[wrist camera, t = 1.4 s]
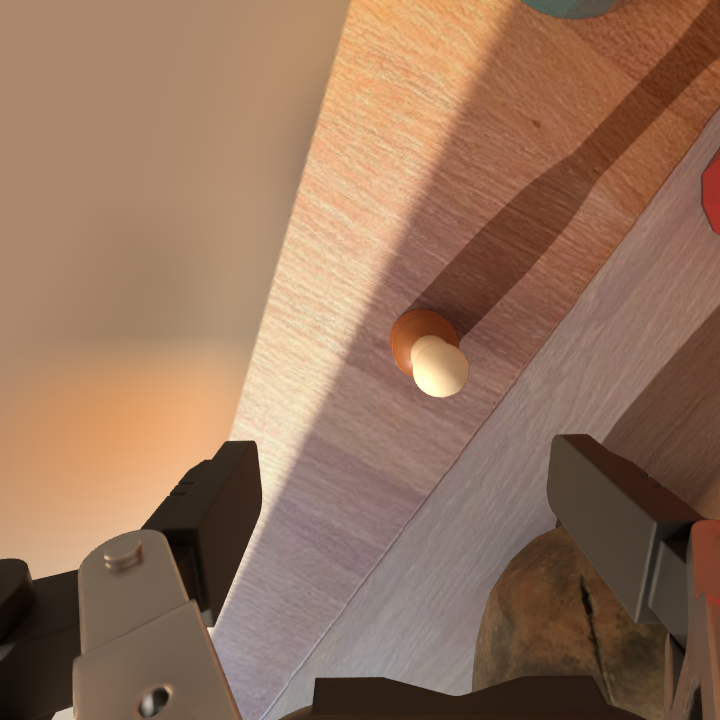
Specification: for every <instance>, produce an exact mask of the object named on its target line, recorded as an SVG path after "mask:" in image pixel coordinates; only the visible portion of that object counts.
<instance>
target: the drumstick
mask: <svg viewBox="0 0 720 720" xmlns="http://www.w3.org/2000/svg"><path fill="white" fill-rule="evenodd" d="M390 347H391V351H392V354H393V358H394V360H395V362H396V364H397V366H398V367H399V368H400V369H401V370H402V371H403V372H404V373H405V374H407V375H409V376H411V377H414V379H415V381H416V383H417V385H418V386H419V388H420V389H421V390H423V391H424V392H425V393H427V394H429V395H431V396H435V397H447V396H450V395H453V394H455V393H456V392H458V391H459V390H460V389H461V388H462V387H463V386H464V384H465V382H466V380H467V377H468V371H469V370H468V363H467V360H466V358H465V356H464V355H463V353H462V352H461V351H460V350H459V339H458V335H457V333H456V331H455V329H454V328H453V326H452V325H451V324H450V323H449V322H448V321H447V320H446V319H444V318H443V317H442V316H441V315H439V314H438V313H436V312H434V311H431V310H427V309H416V310H412V311H409V312H407V313H405V314H404V315H402V316H401V317H400V318H399V319H398V320H397V321H396V322H395V324H394V326H393V328H392V330H391V333H390Z"/></svg>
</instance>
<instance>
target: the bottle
mask: <svg viewBox="0 0 720 720" xmlns="http://www.w3.org/2000/svg"><path fill="white" fill-rule="evenodd" d="M701 205H702V207H703V209H704V212H705V214H706V216H707V219H708V221H709V223H710V226H711V228H712V230H713V231H714V232H716V233H717V234H718V235H720V147H719V148H718V150H717V152H716V153H715V155H714V156H713V158H712V159H711V161H710V163H709V164H708V166H707V167H706V169H705V170H704V172H703V173H702V175H701Z"/></svg>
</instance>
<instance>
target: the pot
mask: <svg viewBox="0 0 720 720" xmlns="http://www.w3.org/2000/svg"><path fill="white" fill-rule="evenodd" d="M705 519H706V518H705ZM706 520H709V519H706ZM667 634H668V629H667V628H666V627H665V625H664V624H635V622H634V621H633V620H632V618H631V617H630V616H629V614H628V613H627V611H626V610H625V609H624V607H623V606H622V605H621V603H620V602H619V601H618V599H617V598H616V597H615V595H614V594H613V592H612V591H611V590H610V588H609V587H608V586H607V584H606V583H605V582H604V580H603V579H602V578H601V576H600V575H599V573H598V572H597V571H596V569H595V568H594V567H593V565H592V564H591V563H590V561H589V560H588V558H587V557H586V556H585V554H584V553H583V552H582V550H581V549H580V548H579V546H578V545H577V544H576V542H575V541H574V539H573V538H572V537H571V535H570V534H569V533H568V531H567V530H566V529H565V527H564V526H563V525H562V526H560V527H558V528H555V529H553V530H551V531H549V532H547V533H545V534H543V535H540V536H538V537H536V538H535V539H534V540H532V541H531V542H530V543H529V544H528V545H527V546H526V547H525V548H524V549H522V550H521V551H520V552H519V553H518V554H517V555H516V556H515V557H514V558H513V559H512V560H511V561H510V563H509V564H508V566H507V567H506V569H505V570H504V572H503V573H502V575H501V576H500V578H499V579H498V581H497V583H496V584H495V586H494V587H493V589H492V590H491V592H490V595H489V598H488V602H487V605H486V608H485V611H484V614H483V617H482V621H481V625H480V629H479V633H478V637H477V641H476V650H475V658H474V666H473V678H472V692H475V691H478V690H481V689H485V688H488V687H491V686H494V685H497V684H500V683H503V682H506V681H509V680H512V679H516V678H519V677H522V676H568V675H592V676H593V678H594V680H595V681H596V683H597V685H598V687H599V689H600V691H601V692H602V694H603V696H604V698H605V700H606V702H607V704H609V705H613V706H616V707H618V708H621V709H624V710H627V711H629V712H632V713H635V714H637V715H639V716H641V717H643V718H645V719H647V720H663V719H664V674H665V644H666V639H667Z"/></svg>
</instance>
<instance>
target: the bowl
mask: <svg viewBox="0 0 720 720" xmlns="http://www.w3.org/2000/svg"><path fill="white" fill-rule="evenodd" d="M522 1H523V2H525V3H526V4H527V5H528V6H530V7H532V8H534V9H536V10H538V11H540V12H542V13H545V14H548V15H551V16H554V17H560V18H565V19H583V18H590V17H595V16H599V15H602V14H606V13H609V12H611V11H613V10H615V9H618V8H620V7H622V6H624V5H625V4H627V3H629V2H630V1H632V0H522Z"/></svg>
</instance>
